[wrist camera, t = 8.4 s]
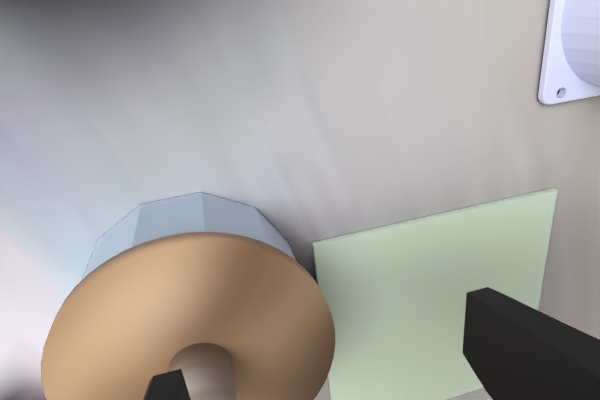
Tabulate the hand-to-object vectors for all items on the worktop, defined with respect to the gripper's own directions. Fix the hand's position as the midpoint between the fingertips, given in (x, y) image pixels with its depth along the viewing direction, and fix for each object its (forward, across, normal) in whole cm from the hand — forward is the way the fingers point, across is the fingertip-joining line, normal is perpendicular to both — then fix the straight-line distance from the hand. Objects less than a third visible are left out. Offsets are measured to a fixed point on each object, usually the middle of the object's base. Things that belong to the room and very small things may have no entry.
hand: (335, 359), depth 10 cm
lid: (+6, +4, +4) cm, 9 cm away
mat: (+10, -9, +10) cm, 17 cm away
